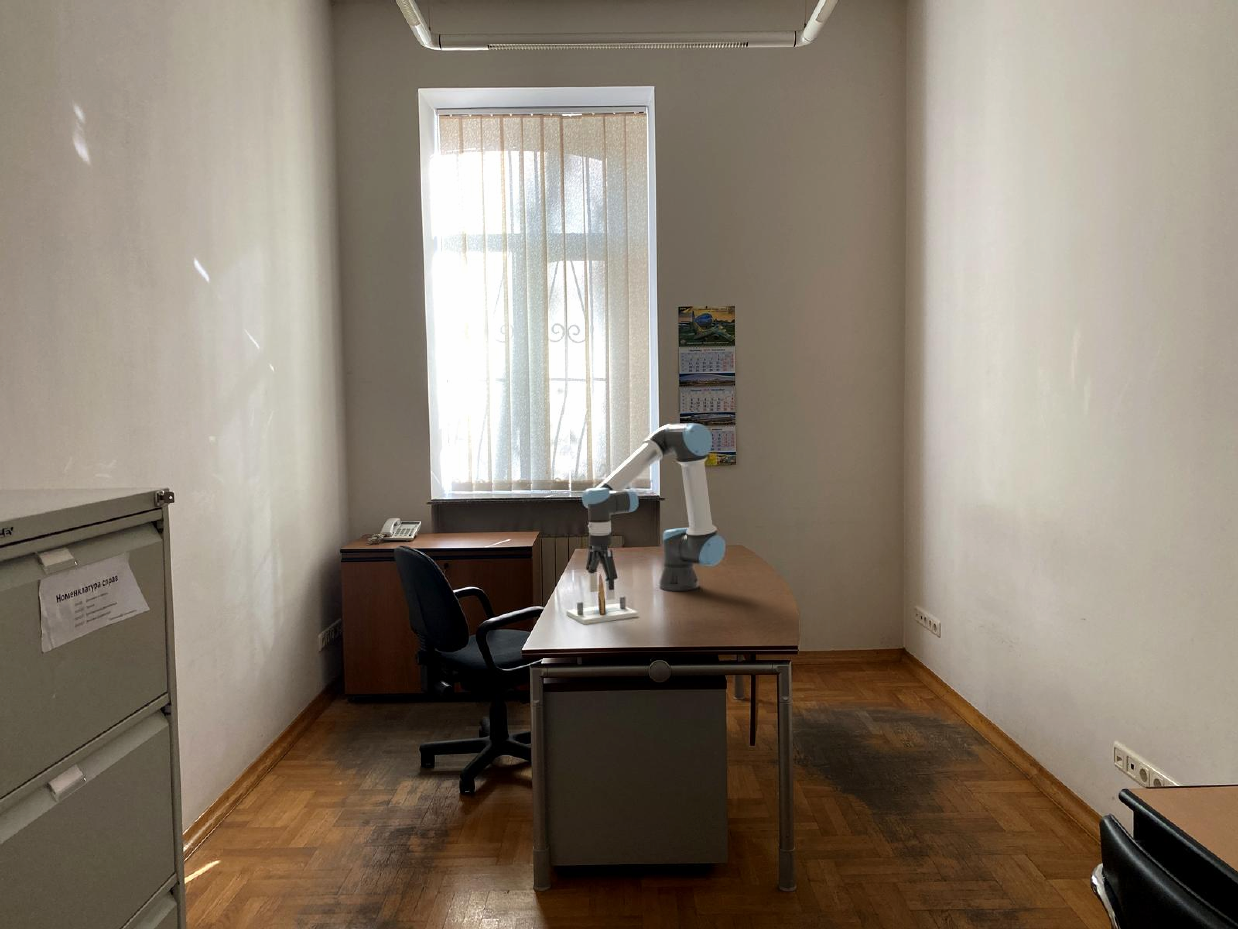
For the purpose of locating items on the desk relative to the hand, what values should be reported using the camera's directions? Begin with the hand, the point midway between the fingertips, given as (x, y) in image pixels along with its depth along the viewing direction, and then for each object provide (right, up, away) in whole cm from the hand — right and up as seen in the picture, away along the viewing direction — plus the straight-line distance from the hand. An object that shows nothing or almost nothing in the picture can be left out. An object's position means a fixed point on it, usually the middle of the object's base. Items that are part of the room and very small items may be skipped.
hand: (602, 595), depth 293 cm
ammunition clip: (0, -6, 0) cm, 6 cm away
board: (0, -7, 0) cm, 7 cm away
